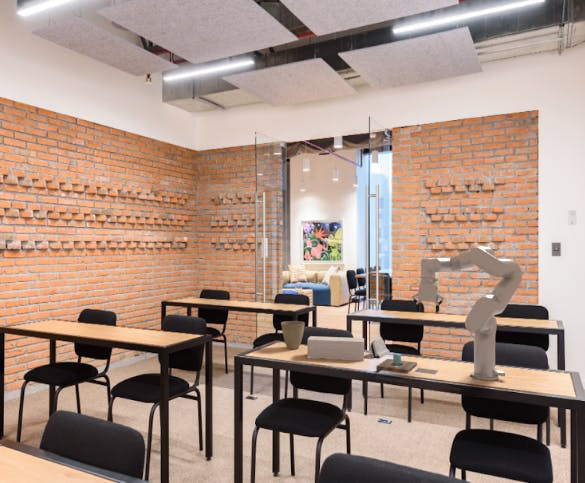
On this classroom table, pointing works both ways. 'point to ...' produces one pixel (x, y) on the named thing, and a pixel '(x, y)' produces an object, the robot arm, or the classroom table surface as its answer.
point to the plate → (426, 371)
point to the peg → (397, 359)
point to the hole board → (389, 366)
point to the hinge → (378, 348)
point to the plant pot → (292, 333)
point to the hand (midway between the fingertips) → (427, 312)
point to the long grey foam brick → (336, 348)
